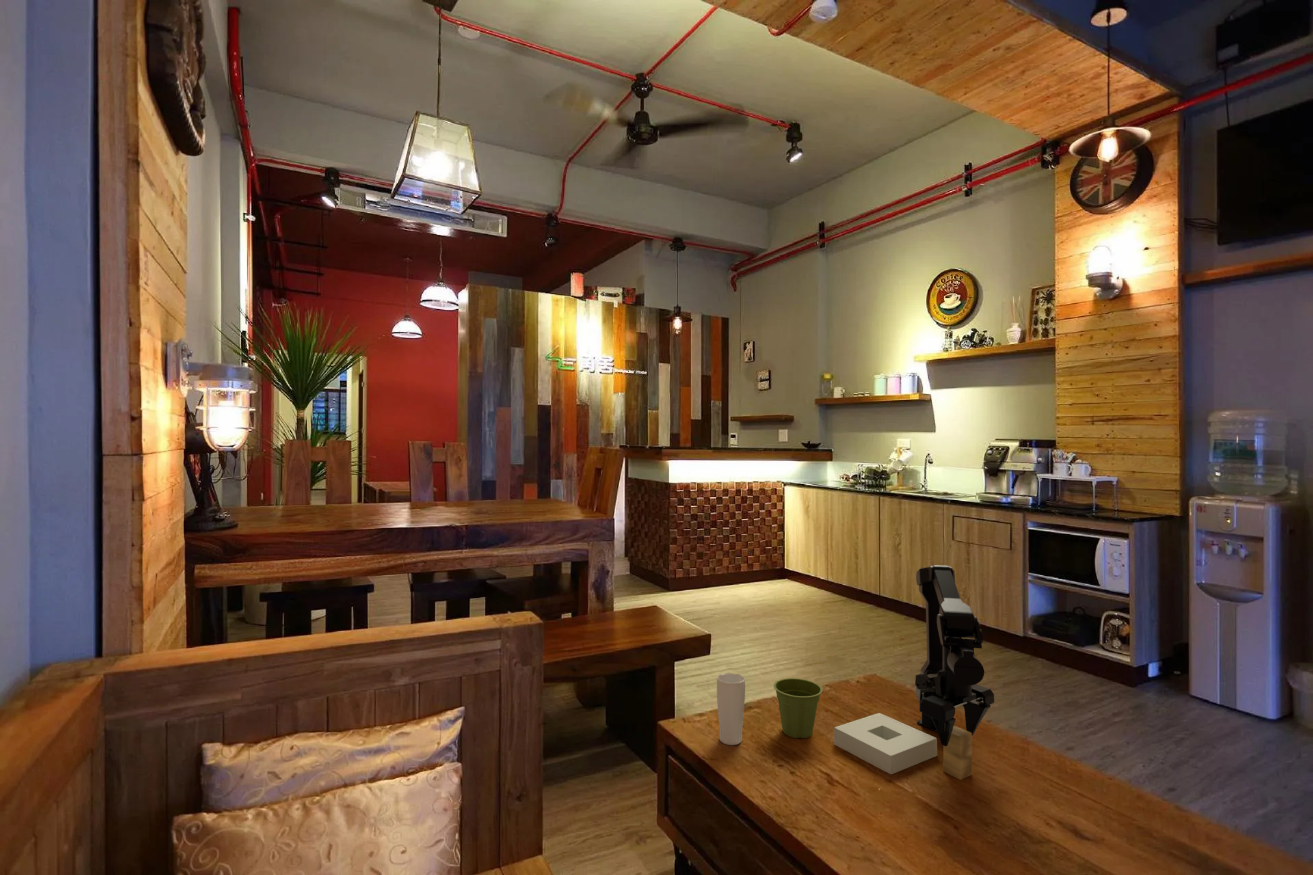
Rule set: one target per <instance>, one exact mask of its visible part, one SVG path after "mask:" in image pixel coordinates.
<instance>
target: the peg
mask: <svg viewBox="0 0 1313 875" xmlns="http://www.w3.org/2000/svg"><path fill="white" fill-rule="evenodd" d="M972 738H973V736H972V733H971V732H969V731H966V729H964V728H961V727H958V726H956V725H954V727H953V730H952V733H951V737H950V740H949V743H948V745H947V746H943V745H942V746H943V759H942V760H943V773H945V774H948V775H949V776H952V777H954V778H957V779H959V780H960V781H961V780H963V779H966V778H968V777H970V776H972V775H973V773H972V769H973V768H972V766H973V765H972V764H973V761H972V760H973V755H972V754H973V753H972V752H973V751H972V750H973V749H972V748H973V746H972V744H973V743H972V742H973V741H972V740H973V739H972Z"/></svg>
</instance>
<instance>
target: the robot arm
mask: <svg viewBox="0 0 1313 875" xmlns="http://www.w3.org/2000/svg"><path fill="white" fill-rule="evenodd" d="M955 573H956V572H955V570H954V569H953V567H952V566H949V565H945V564H944V565H941V564H932V565H929V566H928V567H923V566H921V568H919V569H918V570H917V571H916V574H915V576H916V577H915V580H916V581H915V582H916V585H917V586H918V592H919V593H920V595H921V597H922V598H923V599H924V601H925V625H926V627H925V628H926V632H925V633H926V660H925V662H924V663H923V665H922V667H921V668H920V673H917V674H916V675H915V679H914V681H915V682H914V685H915V692H916V693H915V694H916V698H917V700H918V703H919V704H918V710H919V712H921V718H920V719H918V720H917V721H916V724H917V725H918V724H919V725H920V726H923V727H925V728H928V729H931V730H932V731H935V732H936V733H937V736H938V738H939V740H940V744H941V745H942V746H947V745H948V743H949V740H950V737H951V733H952V730H953V727H954V726H955V723H956V719H957V718H955V715H956V708H957V707H960V706H962V707H963V709H964V718H965V730H966V731H969V732H971V733H972V737H973V736H974V734H975V732H976V730H977V729H978V727H979V725H980V723H981V722H982V720H983V718H984V716H985V715H986V714H987V712H988V710H989V709H990V708H991V705H992V704H994V703H995V693H994V692H993V691H992V690H991V688H988V687H985V686H982V685H979V684H980V682H981V681H982V680H983V679H984V677H985V676H984V675H985V669H984V666H983V664H982V663H981V661H980V660H979V659H978V658H977V656H976V655H975V649H983V648H982V647H983V646H982V644H983V643H984V637H983V631H982V629H981V628H982V627H981V623H980V622H979V620H978V617H977V616H975V614H974V612H973V611H972V608H971V607H970V605H968V604H966V603H964V602H963V600H962V599H961V596H960V593H959V590H958V587H957V584H956V574H955ZM973 638H974V639H973Z"/></svg>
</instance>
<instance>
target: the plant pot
mask: <svg viewBox="0 0 1313 875" xmlns="http://www.w3.org/2000/svg"><path fill="white" fill-rule="evenodd" d="M773 688H774V690H775V692H776V697H777V701H778V706H779V707H778V710H779V714H780V723H781V727H782V728H781V730H782V731H783V733H784V734H785V735H786V736H788V737H790V738H793V739H798V738H801V739H807V738H810V737H811V736H812V735H813V731H814V726H815V725H814V724H815V721H816V715H817V709H818V703H819V702H820V697H821V694H823V687H822V686H821V685H820V684H818V683H816V682H814V681H813V680H808V679H804V678H797V677H793V678H792V677H791V678H789V677H788V678H787V677H785V678H782V679H778V680H776V681H775V682H774V683H773Z"/></svg>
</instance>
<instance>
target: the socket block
mask: <svg viewBox="0 0 1313 875" xmlns="http://www.w3.org/2000/svg"><path fill="white" fill-rule="evenodd" d="M833 742H834V743H833V744H834V746H836V747H839V748H840V749H842V750H844V751H846V752H848V753H850V755H851V754H852V755H853V756H856V757H857V758H859V759H861V760H863V761H865V762H866V763H868V764H869V765H870V764H871V765H872V766H874V767H875V768H878V769H880V770H882V771H883V772H885V773H887V774H889V775H894V774H895V773H899V772H901V771H903V770H905V769H908V768H911V767H913V766H915V765H918V764H921V763H923V762H926V761H928V760H930V759H933V758H935V757H937V756H938V738H937V737H935V736H932V735H931V734H928V733H927V732H924V731H921V730H919V729H917V728H914V727H912V726H910V725H908V724H906V723H903V722H901V721H898V720H896V719H894V718H892V717H890V716H888V715H885V714H883V713H880V712H878V713H874V714H870V715H869V716H866V717H865V716H864V717H863V718H858V719H856V720H853V721H850V722H847V723H843V724H841V725H838V726H834V727H833Z"/></svg>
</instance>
